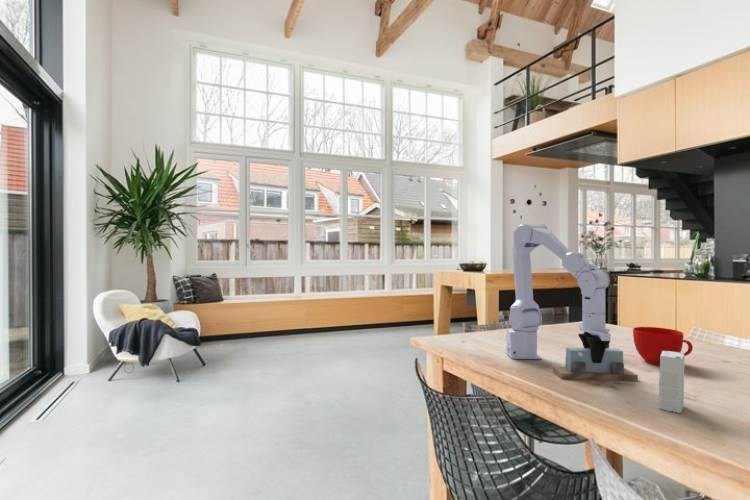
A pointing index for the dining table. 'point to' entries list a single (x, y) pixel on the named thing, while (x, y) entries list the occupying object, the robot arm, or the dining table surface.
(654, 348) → the ceramic cup
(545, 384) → the dining table surface
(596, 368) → the pale blue rectangular block
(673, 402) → the skincare box
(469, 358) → the dining table surface
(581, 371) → the rail
